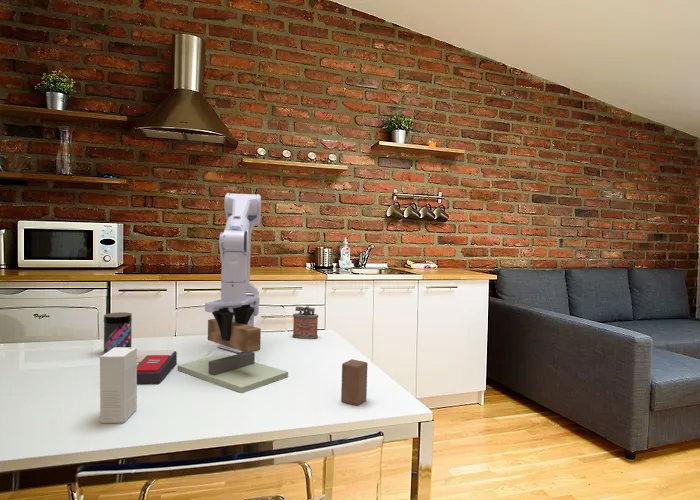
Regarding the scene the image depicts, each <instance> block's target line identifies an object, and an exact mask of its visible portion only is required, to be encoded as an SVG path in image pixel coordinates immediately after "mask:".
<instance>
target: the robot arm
mask: <svg viewBox="0 0 700 500" xmlns="http://www.w3.org/2000/svg"><path fill="white" fill-rule="evenodd" d="M261 213H262V196H261V195H260V193H257V194H251V193H250V194H249V193H230V192H226V194H225V195H224V214H225V218H226V222H225V227H224V230H223V232H222V231H221V232H220V234H219V238H218V239H219V241H218V243H219V244H218V245H219V246H218V247H219V255H220V262H221V273H220V274H221V276H220V279H221V280H220V281H221V284H220V286H221V287H220V289H221V290H220V292H221V293H220V299H218V300H213V301H209V302H205V303H204V312H206V313H211V314H212V315H213V317H214V319H216V321H217V323H218V326H219V329H220V333H221V337H222V340H225V341H230V336H231V324H232V321H234V322H238V323H241V324H245V325H249V326H253V327H255V317H257V316H258V315H259V311H260V296H259V295H260V290H259V289H258V287H257V286H255V285H253V284H252V283H251V282H250V277H251V251H252V250H251V249H252V248H251V244H252V242H251V241H252V232H253V229H254V227H255V226H258V225H260V222H261ZM217 348H219V349H223V350H227V351H230V352H234V353H236V354H240V353H244V352H243V351H240V350H237V349H234V348H231V347H228V346H225V345H222V344H218V345H217Z"/></svg>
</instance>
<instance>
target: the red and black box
mask: <svg viewBox="0 0 700 500" xmlns="http://www.w3.org/2000/svg"><path fill="white" fill-rule="evenodd" d="M177 359H178V353H177V350H173V349H172V350H161V349H160V350H157V349H156V350H154V349H151V350H148V349H147V350H141V349H140V350H137V384H138V385H139V384H140V386H141V385H160V384H161V383H162V382H163V381H164V380H165V379H166V377H167V376H168V375H169V373H170V372H171V371H172V370H173V369H174V368H175V367H176V366H178V361H177ZM138 385H137V386H138Z"/></svg>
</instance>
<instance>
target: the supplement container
mask: <svg viewBox="0 0 700 500" xmlns="http://www.w3.org/2000/svg"><path fill="white" fill-rule="evenodd" d="M132 314H133V313H131V312H123V311H122V312H119V311H118V312H110V313H105V314H104V315H103V354H105V353H107V352H108V351H110V350H111V349H113V348H115V347H126V348H132V338H133V337H132V332H133V331H132V328H133V327H132V325H133V324H132V320H133V317H132Z"/></svg>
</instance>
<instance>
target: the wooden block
mask: <svg viewBox="0 0 700 500" xmlns="http://www.w3.org/2000/svg"><path fill="white" fill-rule="evenodd" d="M368 366H369V365H368V362H366V361H362V360H357V359H350V360H347V361H345V362H342V364H341V391H340V392H341V393H340V394H341V395H340V401H341V402H343V403H346V404H351V405H354V406H358V405H360V404H362V403H363V402H365V401H367V396H368V395H367V391H368V388H367V387H368Z"/></svg>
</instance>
